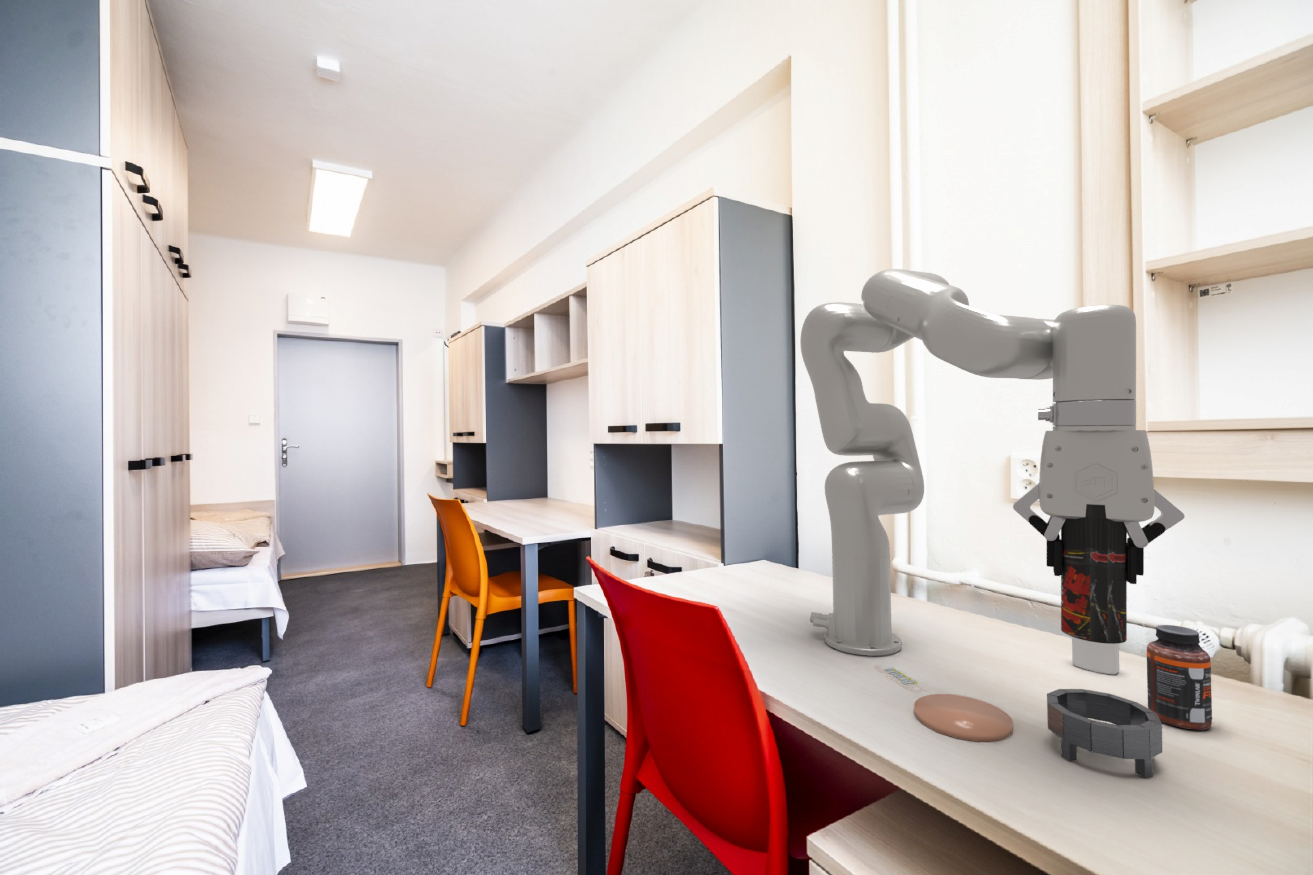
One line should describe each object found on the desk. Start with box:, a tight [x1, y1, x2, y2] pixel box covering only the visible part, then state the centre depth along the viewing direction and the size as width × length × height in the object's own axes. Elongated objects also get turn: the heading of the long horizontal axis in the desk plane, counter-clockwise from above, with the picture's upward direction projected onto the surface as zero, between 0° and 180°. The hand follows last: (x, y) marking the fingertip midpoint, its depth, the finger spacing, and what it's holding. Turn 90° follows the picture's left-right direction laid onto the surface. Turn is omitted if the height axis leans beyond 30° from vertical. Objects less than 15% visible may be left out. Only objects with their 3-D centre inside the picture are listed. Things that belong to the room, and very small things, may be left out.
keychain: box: [873, 664, 927, 693], centre depth 86 cm, size 10×1×3 cm
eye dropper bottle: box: [1071, 636, 1120, 675], centre depth 89 cm, size 4×6×12 cm
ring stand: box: [1046, 688, 1163, 779], centre depth 65 cm, size 10×10×5 cm
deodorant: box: [1060, 504, 1128, 644], centre depth 66 cm, size 6×6×15 cm
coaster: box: [913, 693, 1014, 743], centre depth 73 cm, size 11×11×1 cm
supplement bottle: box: [1146, 624, 1213, 731], centre depth 72 cm, size 6×6×11 cm
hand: (1092, 575), depth 66 cm, fingers closed on deodorant, 6 cm apart
